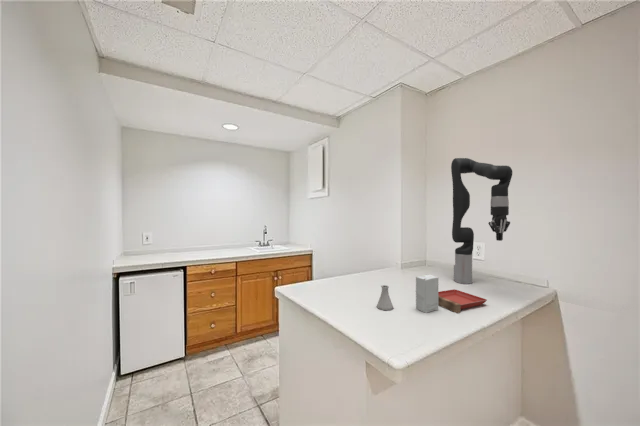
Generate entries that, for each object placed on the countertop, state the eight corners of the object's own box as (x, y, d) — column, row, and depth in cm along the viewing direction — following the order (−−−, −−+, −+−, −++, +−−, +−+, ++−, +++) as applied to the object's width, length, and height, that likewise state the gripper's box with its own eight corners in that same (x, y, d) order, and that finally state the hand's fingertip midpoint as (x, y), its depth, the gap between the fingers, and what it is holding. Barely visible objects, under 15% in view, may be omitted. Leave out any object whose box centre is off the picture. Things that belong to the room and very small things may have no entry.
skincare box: (428, 305, 124) (428, 273, 124) (439, 310, 119) (439, 276, 119) (415, 308, 121) (414, 275, 121) (425, 313, 115) (425, 279, 115)
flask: (384, 312, 118) (384, 289, 117) (373, 306, 124) (373, 285, 124) (396, 309, 121) (396, 287, 121) (385, 304, 127) (385, 283, 127)
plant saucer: (454, 294, 141) (454, 288, 141) (488, 306, 124) (488, 299, 124) (428, 299, 134) (428, 293, 134) (460, 312, 117) (460, 305, 117)
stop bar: (422, 298, 134) (422, 291, 134) (426, 298, 135) (426, 290, 135) (456, 313, 116) (456, 304, 116) (460, 312, 117) (460, 303, 117)
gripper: (501, 205, 140) (501, 239, 140) (483, 205, 135) (482, 240, 135) (516, 205, 133) (516, 240, 133) (497, 205, 128) (497, 242, 128)
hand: (499, 240), depth 134 cm, fingers closed
